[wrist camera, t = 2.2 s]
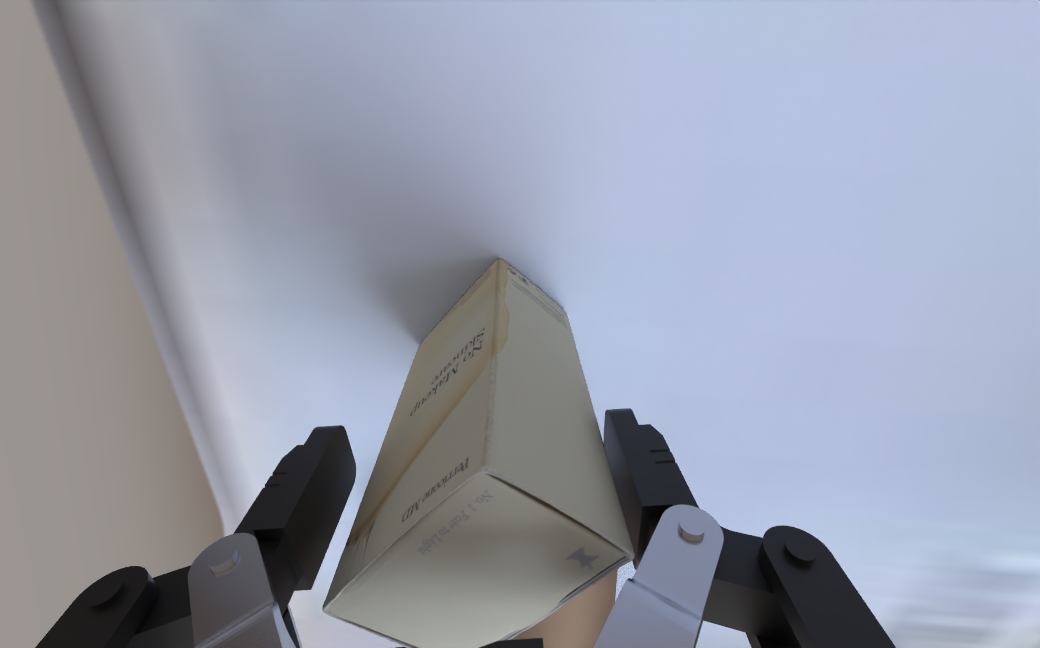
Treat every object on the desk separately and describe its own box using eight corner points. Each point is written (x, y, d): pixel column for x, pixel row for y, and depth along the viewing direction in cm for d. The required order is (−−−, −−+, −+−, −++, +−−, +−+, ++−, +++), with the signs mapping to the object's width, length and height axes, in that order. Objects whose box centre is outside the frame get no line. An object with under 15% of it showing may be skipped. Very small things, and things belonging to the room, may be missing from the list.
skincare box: (498, 253, 18) (485, 452, 7) (571, 314, 20) (649, 556, 9) (414, 348, 20) (306, 615, 9) (485, 397, 22) (463, 679, 11)
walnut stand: (608, 478, 24) (621, 523, 22) (600, 619, 31) (609, 667, 28) (402, 490, 24) (389, 536, 22) (436, 628, 31) (429, 677, 28)
